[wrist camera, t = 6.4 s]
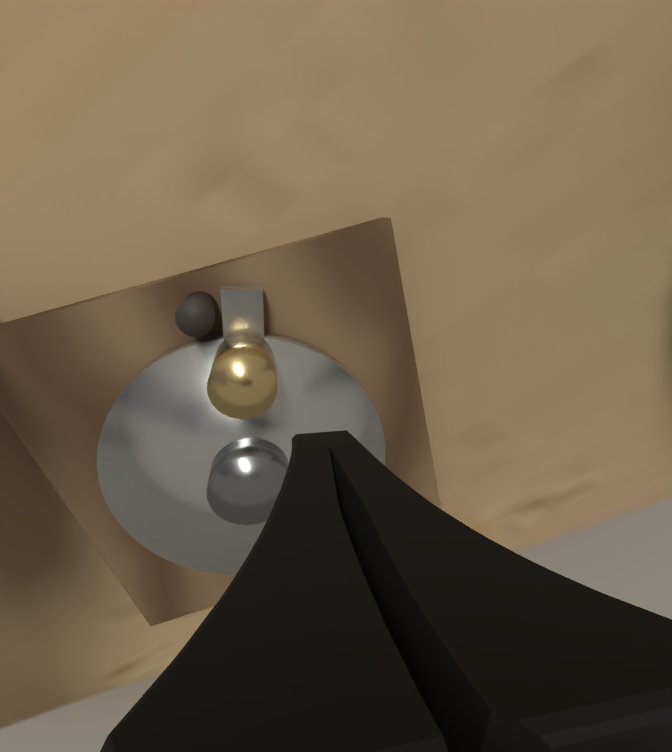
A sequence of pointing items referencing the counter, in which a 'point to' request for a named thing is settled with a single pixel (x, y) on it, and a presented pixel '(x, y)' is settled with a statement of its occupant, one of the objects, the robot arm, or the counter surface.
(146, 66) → the counter surface
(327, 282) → the walnut board
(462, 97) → the counter surface
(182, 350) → the flange plate
